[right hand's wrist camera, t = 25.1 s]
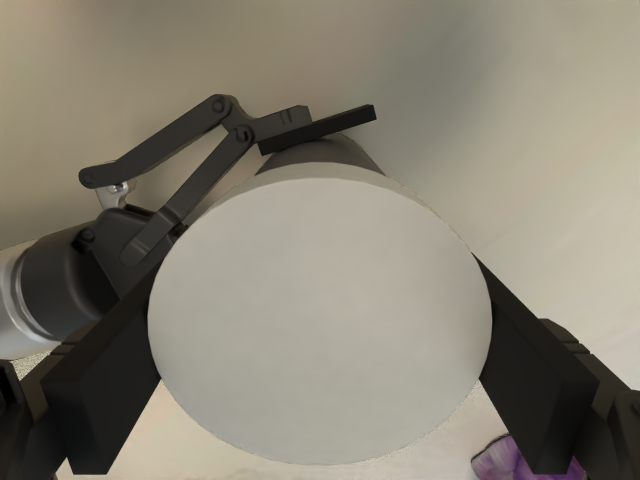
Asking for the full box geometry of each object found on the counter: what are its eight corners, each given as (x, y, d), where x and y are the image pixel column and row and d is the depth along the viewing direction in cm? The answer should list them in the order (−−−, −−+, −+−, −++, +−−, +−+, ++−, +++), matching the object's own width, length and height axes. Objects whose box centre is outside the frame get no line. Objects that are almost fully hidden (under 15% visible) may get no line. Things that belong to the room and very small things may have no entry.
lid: (167, 148, 10) (127, 160, 8) (494, 175, 11) (538, 195, 9) (185, 401, 14) (161, 457, 12) (430, 417, 14) (450, 474, 12)
